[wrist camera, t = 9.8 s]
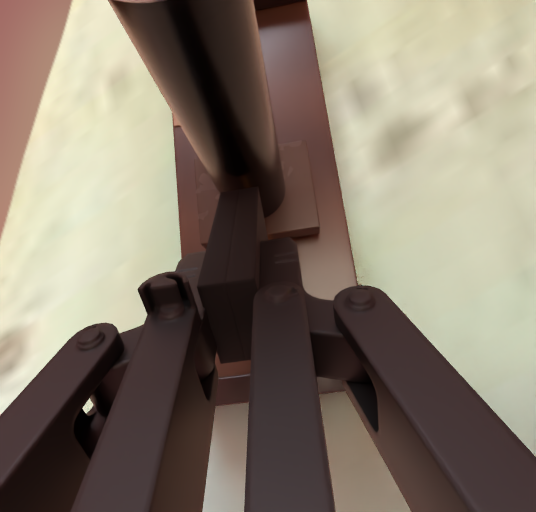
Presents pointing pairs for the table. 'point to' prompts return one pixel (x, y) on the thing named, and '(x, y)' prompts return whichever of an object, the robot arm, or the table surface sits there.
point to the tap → (223, 106)
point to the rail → (321, 161)
